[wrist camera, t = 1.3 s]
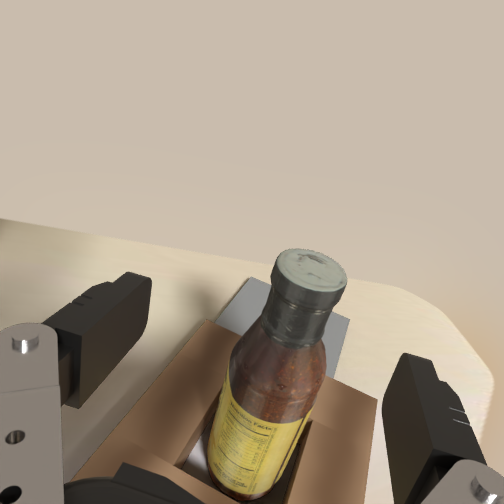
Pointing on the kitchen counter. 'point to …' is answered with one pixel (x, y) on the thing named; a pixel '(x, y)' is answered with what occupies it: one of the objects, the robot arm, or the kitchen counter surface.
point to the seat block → (202, 409)
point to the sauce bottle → (274, 376)
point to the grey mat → (250, 308)
